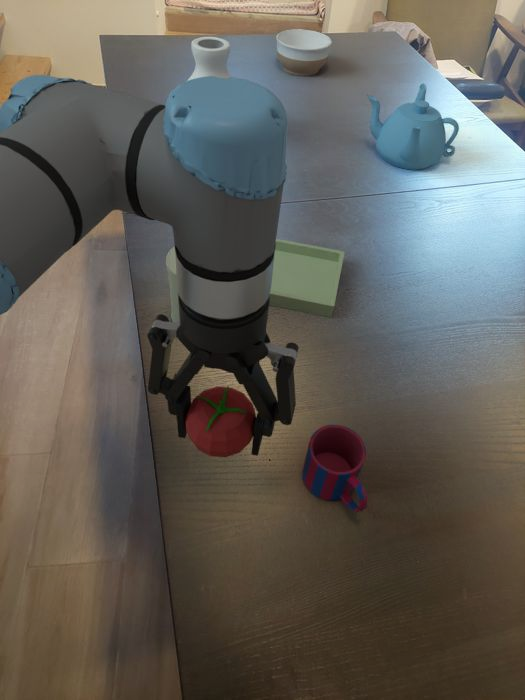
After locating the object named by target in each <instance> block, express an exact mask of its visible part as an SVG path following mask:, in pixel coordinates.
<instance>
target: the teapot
mask: <svg viewBox="0 0 525 700" xmlns="http://www.w3.org/2000/svg"><path fill="white" fill-rule="evenodd" d="M426 94H427V85H426V83H421V84H420V85H419V88H418V92H417V94H416V97H415V99H414V102H407V103H406V102H405V103H403V104H401V105H400V106H398V107H397V108H396V109H394V111H393V112H392V113H391V114H390V115H389V116H388V117H387V118H386V120H385V121H383V122H382V121H381V119H380V114H381V113H380V111H381V103H380V101H379V100H378V99H377V98H376V97H374V96H373V95H371V94H366V97H367V99H368V100H369V101H370V102H371V115H370V121H369V122H370V123H369V130H370V134H371V135H372V137H373V138H374V140H375V147H376V150H377V152H378V154H379V156H380V157H381V159H383V160H384V161H385V162H386V163H388V164H390V165H392V166H394V167H398V168H400V169H405V170H413V171H417V170H419V171H420V170H425V169H428V168H430V167H432V166H434V165H436V164H437V163H438V162H440V160H441V159H442V158H443V157H445V158H451V157H452V156H453V155H454V154H455V153H456V148H455V146H454V145H451V144H452V143H453V142H454V140H455V139H456V138H457V136H458V133H459V130H460V125H459V122H457V120H456V119H454V118H452V117H442V114H441V113H440V111H439V110H437V109H436V108H435V107H433V106H431V105H430V103H429V101H426ZM445 124H449V125H451V126H453V130H452V131H453V132H452V134H451V135H450V137H449V138H448V140H447V135H446V128H445ZM448 150H450V151H448Z"/></svg>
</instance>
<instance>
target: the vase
mask: <svg viewBox="0 0 525 700" xmlns="http://www.w3.org/2000/svg"><path fill="white" fill-rule="evenodd" d="M190 44H191V46H190V47H191V53H192V56H193V58H194V62H195V67H194V69H193V72H192V74H191V75H190V76H189V78H188V79H187V81H189V80H192V79H195V78H200V77H209V76H215V77H218V78H221V79H228V78H231V77H232V76H231V75H230V73H229V71H228V68H227V62H228V59H229V56H230V53H231V43H230V42H229V41H228V40H226V39H224V38H221V37H216V36H199V37H197V38H195V39H193V40H192V41H191V43H190Z"/></svg>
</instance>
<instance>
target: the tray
mask: <svg viewBox="0 0 525 700" xmlns="http://www.w3.org/2000/svg"><path fill="white" fill-rule="evenodd" d="M345 252H346V251H344V250H338V249H335V248H334V249H333V248H328V247H323V246H319V245H318V246H317V245H313V244H308V243H301V242H297V241H291V240H286V239H280V238H276V246H275V256H274V265H273V275H272V285H271V292H270V295H269V296H270V302H269V306H271V307H272V306H273V307H276V308H277V307H278V308H282V309H287V310H292V311H297V312H301V313H306V314H312V315H317V316H320V317H321V316H322V317H327V318H331V319H332V318H333V315H334V310H335V305H336V299H337V294H338V289H339V285H340V279H341V274H342V268H343V263H344V258H345Z"/></svg>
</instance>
